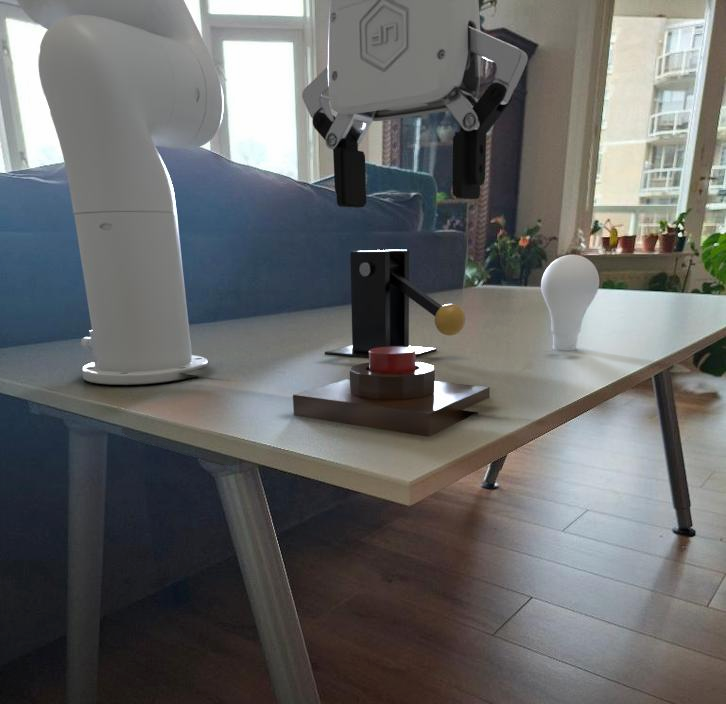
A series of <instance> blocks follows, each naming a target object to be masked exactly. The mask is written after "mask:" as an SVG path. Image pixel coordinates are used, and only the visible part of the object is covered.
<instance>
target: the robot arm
mask: <svg viewBox="0 0 726 704" xmlns="http://www.w3.org/2000/svg"><path fill="white" fill-rule="evenodd" d="M16 2H17V4H18V5H19V6H20V8H21V10H22V11H23V12H24V13H25V15H26V16H27V17H28V18H29V19H30V20H32V21H33V22H34V23H35V24H37V25H38V26H41V27H42V28H44V29H46V32H45V33H44V35H43V36H42V39H41V42H40V45H39V50H38V61H37V63H38V66H37V67H38V76H39V80H40V85H41V90H42V93H43V96H44V100H45V102H46V105H47V108H48V111H49V114H50V117H51V120H52V123H53V125H54V129H55V132H56V135H57V138H58V142H59V145H60V149H61V150H60V151H61V153H62V158H63V162H64V166H65V171H66V177H67V182H68V183H67V184H68V187H69V193H70V199H71V200H70V201H71V206H72V207H71V208H72V212H73V216H74V223H75V229H76V230H75V231H76V236H77V243H78V248H79V257H80V261H81V262H80V263H81V268H82V269H81V270H82V275H83V281H84V288H85V293H86V300H87V307H88V313H89V320H90V326H91V330H88V333H89V336H85V337H83V338H81V339H80V346H81V348H82V349H83V350H85V351H91V352H92V359H93V362H90V363H87V364H85V365H84V366H82V368H81V374H82V375H81V376H82V379H83V380H85V381H86V382H89V383H92V384H98V385H108V386H109V385H114V386H118V385H119V386H125V385H126V386H128V385H129V386H131V385H133V386H134V385H149V384H151V385H152V384H159V383H161V384H162V383H169V382H175V381H182V380H186V379H191V378H194V377H198V375H197V374H196V375H195V374H188V372H192V371H196V370H199V369H202V368H204V367H206V366H207V365H208V359H207V358H205V357H203V356H201V355H194V354H193V352H192V344H191V334H190V327H189V326H190V325H189V314H188V306H187V305H188V304H187V296H186V287H185V278H184V269H183V259H182V258H183V257H182V249H181V240H180V230H179V222H178V221H179V220H178V213H177V205H176V197H175V191H174V186H173V184H172V183H173V182H172V180H171V177H170V173H169V171H168V169H167V166H166V164H165V163H164V160H163V159H162V156H161V155H160V153H159V151H158V149H157V147H160V148H167V149H179V150H191V149H196V148H197V149H198V148H201V147H202V146H204V145H206V144H208V143H209V142H211V141H212V140H213V138H214V137H215V136H216V135H217V133H218V131H219V129H220V128H221V124H222V120H223V114H224V105H225V103H224V92H223V87H222V82H221V77H220V75H219V72H218V69H217V67H216V64H215V62H214V60H213V57H212V55H211V53H210V51H209V49H208V47H207V44H206V43H205V41H204V39H203V37H202V35H201V32H200V30H199V29H198V26H197V24H196V22H195V20H194V18H193V16H192V14H191V12H190V10H189V8H188V5H187V4H186V1H185V0H16ZM479 3H480V2H479V0H330V1H329V13H328V36H327V37H328V38H327V66H326V67H325V68H324V69H323V70H322V71H321V72H320V73H319V74H318V75H317V76H316V77H315V78H314V79H313V80H312V81H311V82H310V83H309V84H308V85H306V87H305V88H304V89H303V90H302V93H301V97H302V101H303V103H304V105H305V108H306V109H307V112H308V114H309V116H310V118H312V126H313V128H314V130H316V132H317V133H318V134H319V135H320V136H321V137H322V138H323V140H324V142H325V145H326V147H327V148H328V149H330V150H332V152H333V153H332V155H333V158H332V159H333V179H334V193H335V194H336V204H337V206H338V207H340V208H355V209H357V208H358V209H359V208H364V207H365V206H366V205H367V177H366V176H367V175H366V173H367V171H366V155H365V152H364V151H362V150H359V146H360V145H361V143H362V140H363V139H364V137H365V136H366V134H367V132H368V130H369V128H370V126H371V125H372V123H373V122H384V121H392V120H398V119H405V118H406V119H407V118H412V117H420V116H424V115H425V116H426V115H432V114H437V113H438V114H439V113H444V112H450V114H451V115H452V116H453V117H454V119H455V120H456V122H457V123H458V124H459V131H456V132H454V136H453V137H452V196H453V197H455V198H456V199H464V200H478V199H480V196H481V186H483V185H484V183H485V180H486V159H487V157H486V156H487V136H489V135H490V134H491V133H492V132H493V130H494V126H495V123H496V122H497V121H498V119H499V118H500V117H501V116H502V114H503V113H504V112H505V111H506V109H507V108H508V107H509V105H510V104H511V103H512V101H513V95H514V94H513V93H514V91H515V89H516V88H517V86H518V84H519V82H520V80H521V77H522V75H523V72H524V71H525V67H527V64H528V60H529V57H528V53H526V52H525V51H524V50H522V49H520V48H519V47H517V46H515V45H512V44H510V43H508V42H506V41H503V40H501V39H499V38H497V37H495V36H492V35H490V34H488V33H486V32H483V31H481V21H480V20H481V17H480V4H479ZM482 58H483V59H485V60H487V61H489V62H492V63H494V64H495V69H496V70H495V73H494V76H493V78H494V79H493V81H492V83H491V84H490V85H489V86H488V87H487V88H486V89H485V91H484V92H483V94H482V95H481V97H480V98H479V99H478V98H477V96H478V95H479V92H480V91H479V90H480V85H481V69H482ZM332 110H333V111H335V112H336V113H337V114H336V116H335V115H333V113H332Z"/></svg>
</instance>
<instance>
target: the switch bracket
mask: <svg viewBox="0 0 726 704" xmlns="http://www.w3.org/2000/svg"><path fill="white" fill-rule="evenodd" d="M390 258H391V259H392V260H394V261H395V262H396V263H398V264H399V267H398V269H397V271H396V273H398V274H399V275H400V276H402V277H403V278H404V279H406V280H407V281H408V282H410V249H385V250H384V249H383V250H380V249H377V250H351V251H349V261H350V262H349V263H350V303H351V306H350V307H351V341H352V343H351V345H349V346H344V347H340V348H336V349H331V350H325V351H324V355H326V356H337V357H346V358H347V357H348V358H357V359H358V358H359V359H366V360H367V359H368V360H369V350H370V349H373V348H379V347H409V348H413V349H415V350H416V358H418V357H421V356H425V355H429V354H431V353H435V352H437V351H438V349H437V348H436V347H423V346H411V345H410V298H409V297H408V296H407V295H405V294H404V293H403V292H401V291H400V290H399V289H397V288H396V287H395V286H393V285H392V284H390Z"/></svg>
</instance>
